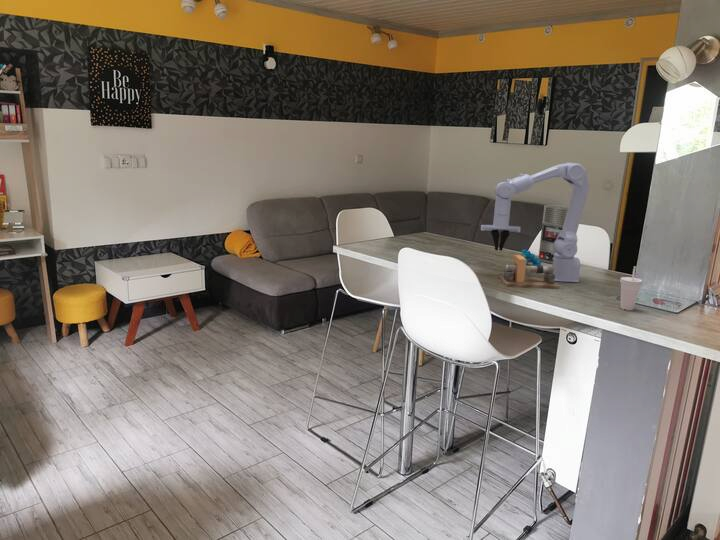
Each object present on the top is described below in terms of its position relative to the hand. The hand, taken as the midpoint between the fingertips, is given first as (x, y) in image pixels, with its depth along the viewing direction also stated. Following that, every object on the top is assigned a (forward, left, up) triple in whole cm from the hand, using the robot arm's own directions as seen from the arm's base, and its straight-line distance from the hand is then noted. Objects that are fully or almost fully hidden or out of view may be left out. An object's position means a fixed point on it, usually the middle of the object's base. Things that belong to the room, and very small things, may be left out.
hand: (498, 250), depth 212 cm
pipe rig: (-10, +9, -10) cm, 17 cm away
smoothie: (-34, +37, -11) cm, 51 cm away
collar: (-6, +9, -9) cm, 14 cm away
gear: (-19, -22, -11) cm, 31 cm away
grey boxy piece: (-32, -31, -11) cm, 46 cm away
